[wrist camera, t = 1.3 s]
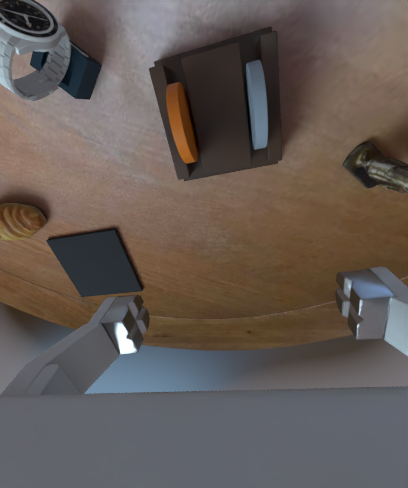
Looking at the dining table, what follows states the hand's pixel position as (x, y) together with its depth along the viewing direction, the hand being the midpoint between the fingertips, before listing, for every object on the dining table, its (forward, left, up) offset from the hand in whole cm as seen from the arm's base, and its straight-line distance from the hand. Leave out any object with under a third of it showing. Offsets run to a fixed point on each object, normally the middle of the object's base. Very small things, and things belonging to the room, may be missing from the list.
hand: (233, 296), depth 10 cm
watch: (-15, -17, -27) cm, 35 cm away
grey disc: (-6, +4, -21) cm, 22 cm away
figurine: (+4, +18, -27) cm, 32 cm away
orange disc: (-6, -4, -21) cm, 23 cm away
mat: (+14, -28, -26) cm, 41 cm away
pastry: (+2, -38, -27) cm, 46 cm away
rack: (-6, 0, -26) cm, 27 cm away
